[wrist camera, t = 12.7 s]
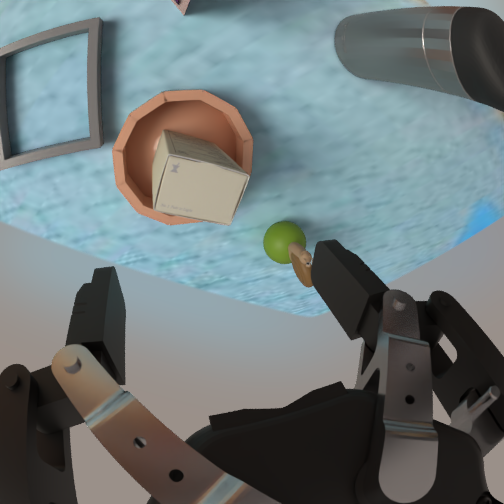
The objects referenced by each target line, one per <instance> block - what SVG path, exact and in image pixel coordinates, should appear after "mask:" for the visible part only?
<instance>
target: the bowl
mask: <svg viewBox="0 0 504 504" xmlns="http://www.w3.org/2000/svg"><path fill="white" fill-rule="evenodd" d="M164 129H165V130H169V131H174V132H178V133H182V134H185V135H189V136H193V137H196V138H200V139H203V140H206V141H209V142H212V143H215V144H216V145H217V146H218V147H219V148H220V149H221V150H223V151H224V152H225V153H226V154H227V155H228V156H229V157H230V158H231V159H232V160H233V161H234V162H236V163H237V164H238V165H239V166H240V167H241V168H242V169H243V170H244V171H245V172H246V173H247V174H248V175H249V176H250V175H251V174H250V173H251V172H252V153H253V138H252V136H251V134H250V132H249V130H248V128H247V127H246V125H245V123H244V121H243V119H242V117H241V115H240V114H239V112H238V110H237V109H236V107H234V106H232V105H230V104H229V103H227V102H225V101H223V100H221V99H220V98H218V97H216V96H214V95H212V94H210V93H209V92H207V91H205V90H199V89H195V90H174V91H164V93H163V92H161V93H159V94H158V95H156V96H155V97H153V98H152V99H150V100H149V101H147V102H146V103H144V104H143V105H141V106H140V107H138V108H137V109H135V110H134V111H133V112H131V113H130V114H129V115H128V117H127V119H126V121H125V123H124V125H123V127H122V130H121V132H120V134H119V136H118V138H117V140H116V142H115V145H114V147H113V150H112V154H113V164H114V173H115V181H116V185H117V188H118V189H119V190H120V192H121V193H122V194H123V195H124V197H125V198H126V199H127V200H128V202H129V203H130V204H131V205H132V207H133V208H134V209H135V210H136V212H138V213H139V214H141V215H144V216H147V217H149V218H152V219H154V220H157V221H159V222H162V223H165V224H167V225H169V224H170V225H177V224H186V223H195V222H203V221H200V220H195V219H189V218H184V217H180V216H175V215H170V214H166V213H161V212H157V211H154V209H153V194H152V163H153V159H154V156H155V152H156V149H157V146H158V142H159V139H160V136H161V134H162V131H163V130H164Z"/></svg>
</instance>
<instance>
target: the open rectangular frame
mask: <svg viewBox="0 0 504 504" xmlns="http://www.w3.org/2000/svg"><path fill="white" fill-rule="evenodd" d="M102 27H103V21H102V20H101V18H100V17H98V18H93V19H88V20H84V21H79V22H75V23H71V24H67V25H64V26H60V27H57V28H53V29H50V30H47V31H44V32H41V33H38V34H35V35H32V36H29V37H26V38H24V39H21V40H18V41H16V42H13V43H11V44H9V45H6V46H4V47H2V48H0V170H4V169H7V168H11V167H14V166H18V165H21V164H25V163H29V162H33V161H37V160H41V159H45V158H50V157H54V156H59V155H63V154H68V153H73V152H78V151H84V150H89V149H95V148H100V147H101V146H102V145H103V144H104V140H103V127H102V109H101V43H102ZM86 32H89V35H88V56H87V93H88V116H89V130H90V137H88V138H83V139H77V140H72V141H68V142H63V143H58V144H54V145H50V146H45V147H41V148H37V149H34V150H30V151H26V152H22V153H19V154H15V155H12V154H11V147H10V140H9V131H8V121H7V108H6V57H9V56H11V55H14V54H16V53H19V52H21V51H24V50H27V49H30V48H33V47H35V46H38V45H42V44H45V43H48V42H51V41H55V40H58V39H62V38H66V37H69V36H73V35H78V34H82V33H86Z"/></svg>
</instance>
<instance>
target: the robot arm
mask: <svg viewBox="0 0 504 504" xmlns="http://www.w3.org/2000/svg"><path fill="white" fill-rule="evenodd" d="M335 48H336V52H337V55H338V57H339V59H340V61H341V62H342V64H343V66H344V67H345V68H346V69H347V70H348V71H349V72H351V73H352V74H353V75H355V76H357V77H359V78H364V79H371V80H379V81H386V82H392V83H399V84H405V85H410V86H416V87H421V88H426V89H430V90H435V91H439V92H443V93H447V94H451V95H456V96H459V97H463V98H467V99H470V100H473V101H476V102H479V103H482V104H486V105H488V106H491V107H493V108H496V109H498V110H500V111H503V112H504V21H503V20H502V19H501V18H500V17H499V16H498V15H497V14H495V13H494V12H492V11H490V10H487V9H484V8H478V7H455V6H440V7H414V8H401V9H391V10H383V11H376V12H369V13H363V14H357V15H352V16H349V17H346V18H345V19H344V20H342V21H341V22H340V24H339V25H338V27H337V29H336V32H335ZM311 281H312V284H313V286H314V287H315V289H316V290H317V292H318V293H319V294H320V296H321V297H322V299H323V300H324V302H325V303H326V305H327V306H328V307H329V309H330V310H331V312H332V313H333V315H334V316H335V318H336V319H337V320H338V322H339V323H340V325H341V326H342V328H343V329H344V331H345V332H346V334H347V335H348V337H349V338H350V339H351V340H354V339H357V338H360V337H362V338H363V339H364V341H363V343H362V346H361V353H360V361H359V368H358V375H357V381H356V384H355V388H354V389H345V387H344V385H343V384H342V382H341V381H340V382H337V383H334V384H331V385H328V386H325V387H322V388H319V389H316V390H313V391H311V392H309V393H308V394H306V395H304V396H303V397H301V398H300V399H298V400H296V401H294V402H293V403H291V404H289V405H288V406H286V407H283V408H277V409H276V408H275V409H242V410H238V411H233V412H228V413H223V414H217V415H212V416H209V420H210V425H209V426H206V427H204V428H202V429H201V430H199V431H197V432H195V433H194V434H193V435H191V436H190V437H189V438H188V439H187V440H186V441H185V442H184V441H183V440H182V439H180V438H179V437H178V436H177V435H175V434H174V433H173V432H172V431H171V430H170V429H169V428H167V427H166V426H165V425H164V424H163V423H162V422H161V421H159V420H158V419H157V418H156V417H155V416H154V415H153V414H152V413H151V412H150V411H149V410H148V409H147V408H146V407H144V406H143V405H142V404H141V403H140V402H139V401H138V400H137V399H136V398H135V397H134V396H133V395H132V394H131V393H130V392H128V391H126V392H125V391H124V390H123V389H122V388H121V387H120V386H119V385H125V320H126V309H125V302H124V297H123V294H122V291H121V287H120V284H119V280H118V276H117V273H116V270H115V267H114V266H112V267H104V268H96V269H95V270H94V274H93V278H92V282H91V283H86V284H83V286H82V287H81V288H80V290H79V291H78V292H77V294H76V298H75V302H74V307H73V311H72V315H71V320H70V325H69V330H68V334H67V340H66V345H65V347H63V348H62V349H60V350H59V351H58V352H57V353H56V354H55V356H54V358H53V360H52V364H51V365H50V366H48V367H45V368H42V369H40V370H37V371H34V372H31V373H30V372H29V371H28V370H27V368H26V367H25V366H23V365H20V364H13V365H11V366H8V367H7V368H6V369H5V370H4V371H3V372H2V373H1V375H0V504H78V503H77V497H76V491H75V485H74V477H73V469H72V458H71V446H70V427H72V426H75V425H78V424H81V423H84V422H86V425H87V426H88V428H89V429H90V430H91V432H92V433H93V434H94V435H95V437H96V438H97V439H98V440H99V441H100V443H101V444H102V445H103V446H104V447H105V448H106V450H107V451H108V452H109V453H110V454H111V455H112V456H113V458H114V459H115V460H116V461H117V462H118V463H119V464H120V465H121V466H122V467H123V468H124V469H125V470H126V471H127V472H128V473H129V474H130V475H131V476H132V477H133V478H134V479H135V480H136V481H137V482H138V483H139V484H140V485H141V486H142V487H143V488H144V489H145V490H146V491H147V492H148V493H149V494H151V497H150V499H149V500H148V502H147V504H503V503H501V502H500V501H498V500H496V499H495V498H494V497H493V496H492V495H491V494H490V492H489V490H488V487H487V483H486V479H485V473H484V461H483V457H484V456H485V455H486V454H487V453H489V452H490V450H492V449H493V448H494V447H495V446H496V445H497V444H498V443H499V442H500V441H502V440H503V439H504V357H503V355H502V354H501V353H500V352H499V350H498V349H497V348H496V346H495V345H494V344H493V343H492V341H491V340H490V339H489V338H488V336H487V335H486V334H485V333H484V332H483V330H482V329H481V328H480V327H479V326H478V324H477V323H476V322H475V321H474V320H473V319H472V317H471V316H470V315H469V314H468V313H467V312H466V311H465V309H464V308H463V307H462V306H461V305H460V304H459V303H458V302H457V301H456V300H455V299H454V298H453V297H452V296H451V295H450V294H448V293H446V292H444V291H434V292H432V294H431V295H430V297H429V299H428V301H415V300H414V299H413V298H412V297H411V296H410V295H409V294H407V293H406V292H403V291H400V290H390V289H389V288H388V287H387V286H386V285H385V284H384V283H383V282H382V281H381V280H380V279H379V277H378V276H377V275H376V274H375V273H374V272H373V271H372V270H370V268H369V267H368V266H367V265H366V264H364V262H363V261H362V260H361V259H360V258H359V257H358V256H357V255H356V254H354V253H352V252H351V251H349V250H346V249H345V248H344V247H343V246H342V245H341V244H340V243H339V242H338V241H337V240H335V239H334V240H326V241H319V242H317V244H316V247H315V252H314V258H313V263H312V268H311ZM443 334H445V335H446V337H447V338H448V339H449V341H450V342H451V343H452V345H453V346H454V347H455V349H456V351H457V359H456V361H455V362H454V364H453V363H452V361H451V360H450V358H449V357H448V356H447V354H446V353H445V352H444V350H443V349H442V347H441V346H440V345H439V343H438V342H439V341H440V339H441V337H442V336H443ZM432 389H433V391H434V392H435V394H436V395H437V397H438V399H439V401H440V402H441V404H442V405H443V407H444V409H445V410H446V412H447V414H448V415H449V417H450V418H451V424H450V425H446V424H444V423H441V422H439V421H436V420H433V395H432V394H433V392H432Z"/></svg>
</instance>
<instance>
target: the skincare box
mask: <svg viewBox="0 0 504 504" xmlns="http://www.w3.org/2000/svg"><path fill="white" fill-rule="evenodd" d="M249 179H250V176H249V175H248V174H247V173H246V172H245V171H244V170H243V169H242V168H241V167H240V166H239V165H238V164H237V163H236V162H234V161H233V160H232V159H231V158H230V157H229V156H228V155H227V154H226V153H225V152H224V151H223V150H221V149H220V148H219V147H218V146H217V145H216V144H215V143H212V142H209V141H206V140H203V139H200V138H196V137H193V136H189V135H185V134H182V133H178V132H174V131H169V130H165V129H164V130H163V131H162V134H161V136H160V139H159V142H158V146H157V149H156V152H155V156H154V159H153V163H152V194H153V209H154V211H157V212H161V213H166V214H170V215H175V216H180V217H184V218H189V219H195V220H200V221H205V222H210V223H216V224H221V225H227V226H229V225H231V223H232V220H233V218H234V215H235V213H236V211H237V208H238V206H239V203H240V201H241V199H242V196H243V194H244V191H245V189H246V186H247V184H248V181H249Z"/></svg>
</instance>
